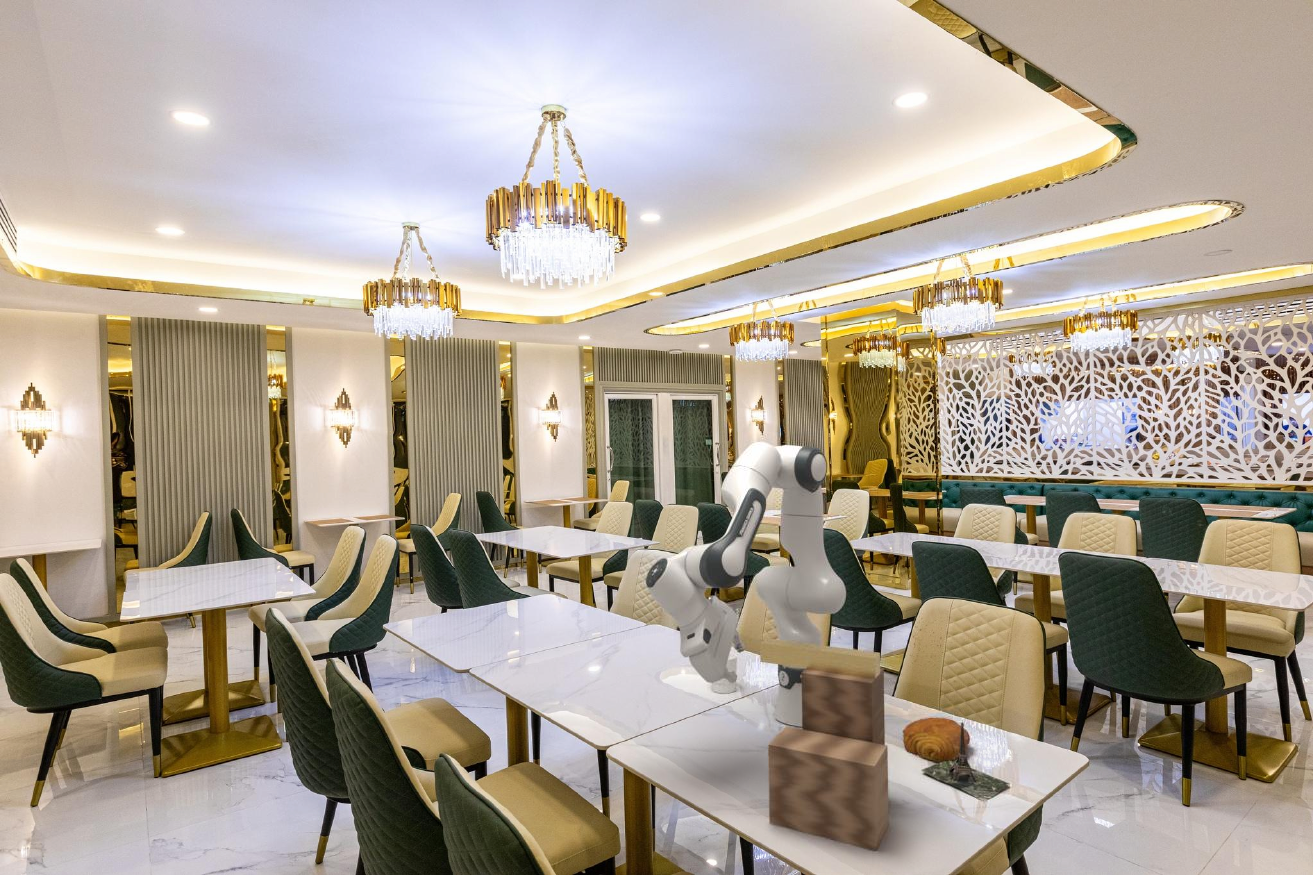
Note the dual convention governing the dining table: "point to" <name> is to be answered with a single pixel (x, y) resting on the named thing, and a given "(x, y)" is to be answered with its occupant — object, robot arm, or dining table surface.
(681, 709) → the dining table surface
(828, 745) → the stand
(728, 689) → the white cup
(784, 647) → the rail
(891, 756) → the dining table surface
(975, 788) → the eiffel tower figurine
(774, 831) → the dining table surface
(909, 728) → the croissant
